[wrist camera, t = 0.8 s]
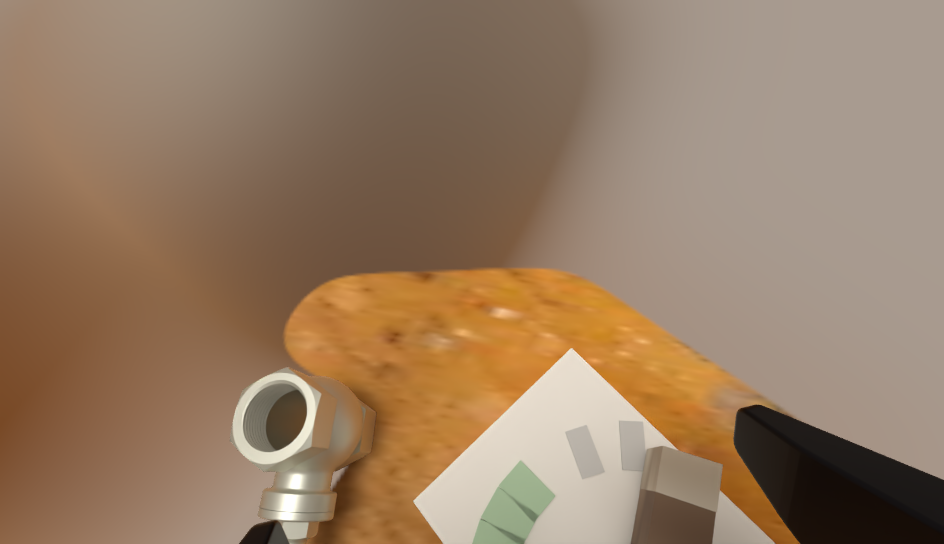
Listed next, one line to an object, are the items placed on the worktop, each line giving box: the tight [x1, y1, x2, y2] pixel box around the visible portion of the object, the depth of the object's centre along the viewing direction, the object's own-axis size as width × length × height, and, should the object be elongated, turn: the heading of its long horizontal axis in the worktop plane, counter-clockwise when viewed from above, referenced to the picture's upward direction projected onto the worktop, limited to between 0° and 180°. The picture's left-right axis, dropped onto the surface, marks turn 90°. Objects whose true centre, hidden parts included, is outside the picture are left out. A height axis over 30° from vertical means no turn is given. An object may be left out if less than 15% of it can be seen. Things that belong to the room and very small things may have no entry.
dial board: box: [413, 348, 775, 544], centre depth 19 cm, size 13×10×1 cm
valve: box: [230, 367, 376, 544], centre depth 19 cm, size 7×7×12 cm
